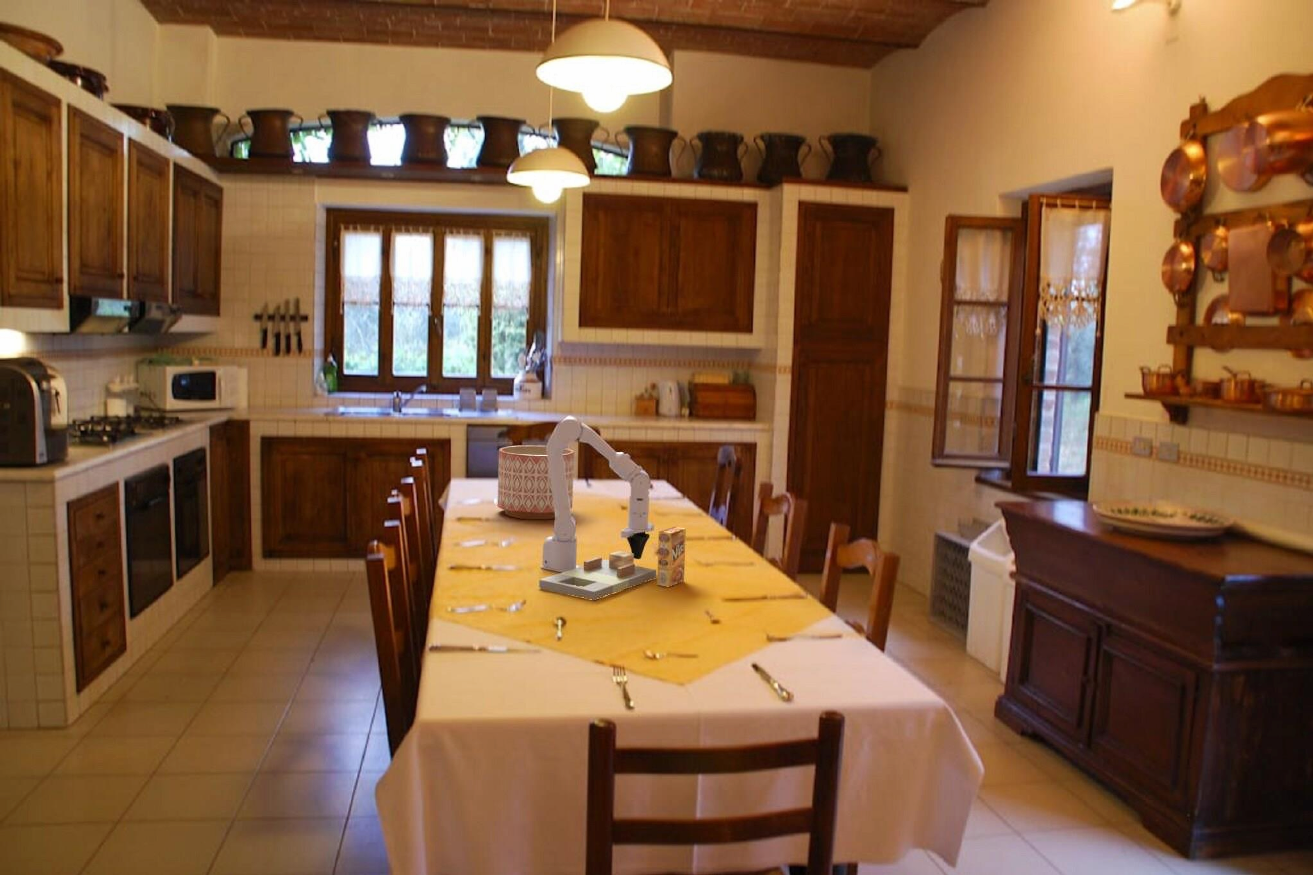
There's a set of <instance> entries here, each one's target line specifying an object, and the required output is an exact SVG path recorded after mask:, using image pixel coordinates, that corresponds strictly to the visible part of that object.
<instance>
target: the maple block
mask: <svg viewBox="0 0 1313 875" xmlns="http://www.w3.org/2000/svg"><path fill="white" fill-rule="evenodd" d="M608 560H609V568H613V569H617V568H619V567H622V566H625V565H628V564H631V563H632V564H635V563H634V560H635V559H634V554H633V553H632V552H626V551H622V550H618V551H615V552H614V551H613V552H612V553H609V558H608Z"/></svg>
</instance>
